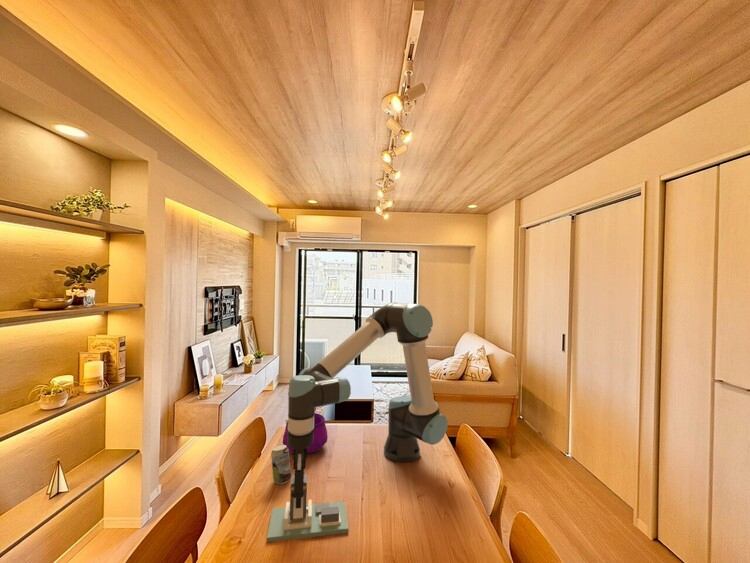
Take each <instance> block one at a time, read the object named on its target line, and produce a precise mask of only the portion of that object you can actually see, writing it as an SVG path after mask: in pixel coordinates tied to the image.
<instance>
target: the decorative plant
mask: <svg viewBox="0 0 750 563" xmlns="http://www.w3.org/2000/svg"><path fill="white" fill-rule="evenodd" d="M316 411H317V407H315V408H314V429H313V431H314V438H313V444H312V445H311V446H309V447H307V454H311V453H314V452H315V453H316V452H317V451H319V450H321V449H322V448H323V447H324V446H325V445H326V444H327V443H328V430H327V426H326V419H325V417H324V415H323V414H320V413H316ZM287 434H288V423H286V422H285V429H284V433H283V435H282V445H286V446H287V448H288V449H289V453H290V452H291V453H293V450H294V448H290V447H289V446H288V444H287Z"/></svg>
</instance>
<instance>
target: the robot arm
mask: <svg viewBox="0 0 750 563" xmlns="http://www.w3.org/2000/svg"><path fill="white" fill-rule="evenodd" d="M433 325H434V320H433V316H432V314H431V312H430V311H429V309H428V308H427V307H425V305H421V304H417V303H414V302H413V303H409V302H407V303H406V302H405V303H402V302H391V303H387V304H385V305H384V306H382V307H380V308H378V309H377V310H375V311H374V312H373V313H372V314H369V316H368V317H367V318H366V319H365V323H364V324H362V325H361V326H360V327H359V328H357V330H355V332H353V333H352V334H351V335H349V336H348V338H346V339H345V340H344V341H343V342H342V343H340V344H339V345H337V347H335V348H334V349H333V350H332V351H330V352H329V354H327V355H326V356H325V357H323V359H321V360H320V361H318V363H316V365H314V366H313V367H310V368H309V367H306V368H303V369H302V370H301V371H300V372H299V374H298V375H296V376H293V377H292V378H290V380H289V384H288V392H287V394H288V402H287V403H288V409H287V410H288V411H287V412H288V415H287V416H288V417H287V418H286V419H285V424H286V423H288V434H287V444H288V446H289V447H290V448H294V450H293V452H292V459H293V467H292V468H293V470H294V475H295V477H294V493H292V495H291V497H294V505H293V519H296V518H303V497H304V492H303V479H304V474H305V470H306V464H307V457H308V453H307V447H309V446H311V445H312V444H313V438H314V431H313V429H314V408H315V407H316V408H320V407H324V406H328V405H333V404H334V405H335V404H340V403H342V402H346V401H347V400H349V398H350V397H351V393H352V392H351V389H352V387H351V384H350V381H349V380H348V378H346V377H345V376H340V377H339V376H338V375H339V373H340V372H342V371H343V370H344V369H345V368H346V367H347V366H348V365H350V364H351V363H352V362H353V361H354V360H355V359H356V358H358V356H360V355H361V353H363V352H364V351H365V350H366V349H367V348H368V347H369V346H371V345H372V344H373V343H374V342H375V341H376V340H377V339H378V338H379V339H382V338H383V337H385V335H387V334H390V333H396V337H397V342H398V343H399V344H400V345H402V351H403V355H404V361H405V362H404V364H405V369H406V370H405V371H406V375H407V376H406V377H407V380H408V382H407V383H408V388H409V395H410V396H409V395H404V396H403V395H401V396H395V397H392V398H391V399H390V400H389V402H388V432H387V437H386V438H385V439H386V440H385V443H384V444H383V445H384V446H383V454H384V456H385V457H386V458H387V459H389V460H391V461H393V462H397V463H411V462H414V461H416V460H418V459H419V458H420V456H421V448H420V444H419V441H418V440H420V441H422V442H423V443H424V444H425V443H427V444H428V445H432V446H433V445H437V444H439V443H440V442H441V441H442V440H443V438H444V437H445V435H446V433H447V430H448V425H449V424H448V423H449V422H448V418H447V417H446V416H445V415H444V414H443V413H441V412H440V406H439V403H438V402H437V401H436V400H435V399H434V392H433V387H432V379H431V373H430V365H429V361H428V353H427V346H426V342H427V340H428V339H429V334H430V333H431V332H432V328H433ZM336 376H337V377H336Z"/></svg>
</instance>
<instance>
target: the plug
mask: <svg viewBox="0 0 750 563" xmlns="http://www.w3.org/2000/svg"><path fill="white" fill-rule="evenodd" d="M294 477H295V474H291V478H290V489H289V490H290V494H289V497H290V500H289V502H290V520H293V505H294V497H291V495H292V493H294ZM307 489H308V473H304V479H303V492H304V497H303V518H306V505H307V495H308V490H307ZM296 519H302V518H296Z"/></svg>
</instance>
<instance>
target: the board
mask: <svg viewBox="0 0 750 563" xmlns="http://www.w3.org/2000/svg"><path fill="white" fill-rule="evenodd" d="M312 502H313V499H308V503H307V504H306V518H302V519H293V520H290V501H286V503H285V506H284V507H275V508H271V515H270V518H269V523H268V524H269V526H268V530H267V537H266V543H273V542H281V541H288V540H289V541H290V540H297V539H298V540H299V539H307V538H315V537H323V536H331V535H332V536H333V535H340V534H349V529H350V528H349V523H348V517H347V511H346V502H345V501H335V502H328V501H327V502H321V503H319V502H318V503H312Z"/></svg>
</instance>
